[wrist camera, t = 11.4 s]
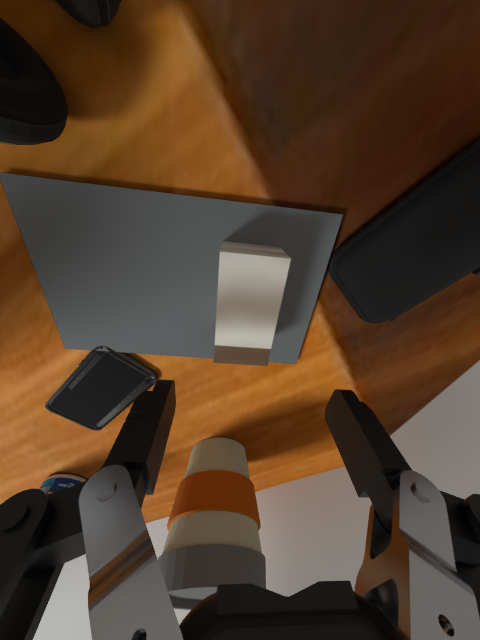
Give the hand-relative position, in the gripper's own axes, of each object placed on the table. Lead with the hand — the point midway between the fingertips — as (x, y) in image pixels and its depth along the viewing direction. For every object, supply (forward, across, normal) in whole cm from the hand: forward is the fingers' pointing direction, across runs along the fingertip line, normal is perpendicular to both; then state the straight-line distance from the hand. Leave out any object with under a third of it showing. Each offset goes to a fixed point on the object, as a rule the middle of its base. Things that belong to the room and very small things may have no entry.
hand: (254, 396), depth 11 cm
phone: (+13, +17, +15) cm, 26 cm away
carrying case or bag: (+13, -15, -6) cm, 21 cm away
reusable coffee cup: (+13, +1, +29) cm, 31 cm away
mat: (+12, +6, 0) cm, 14 cm away
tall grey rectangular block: (+12, 0, 0) cm, 12 cm away
